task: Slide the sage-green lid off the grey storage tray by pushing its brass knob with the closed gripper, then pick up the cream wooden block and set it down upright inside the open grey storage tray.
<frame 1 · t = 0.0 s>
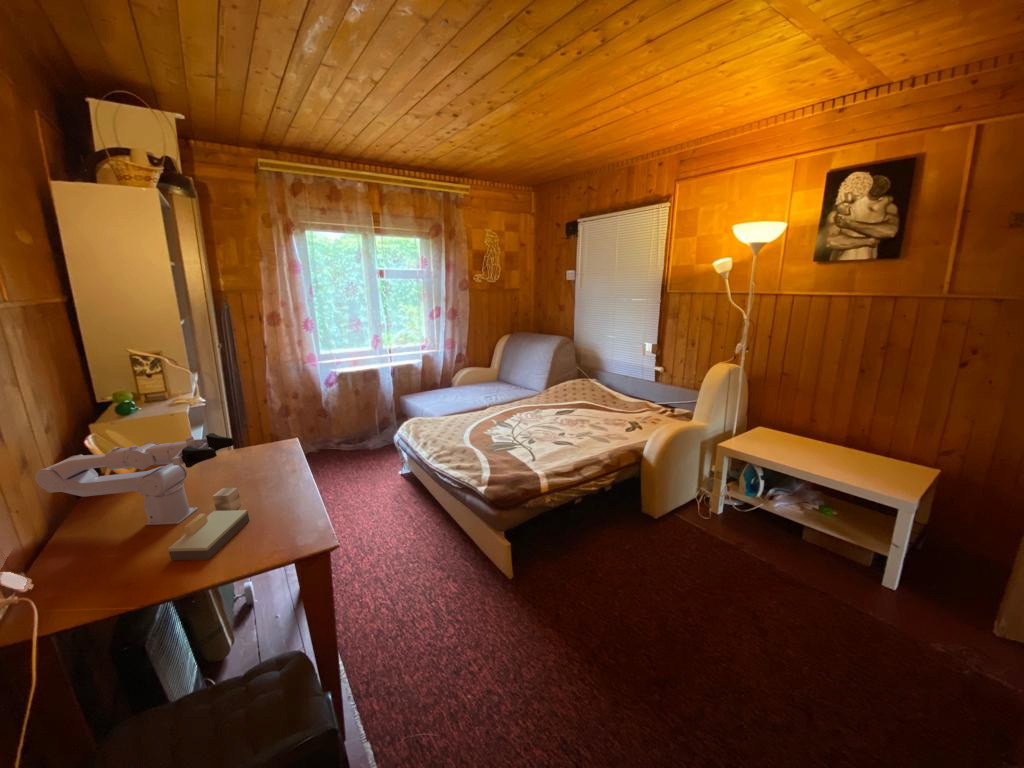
hand: (224, 447, 118), 22 cm above the table, tool horizontal, fingers open, 7 cm apart
lid: (209, 525, 111), point 4 cm above the table, slide at 0.0 cm
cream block: (229, 509, 127), on the table
grey storage tray: (213, 538, 113), on the table
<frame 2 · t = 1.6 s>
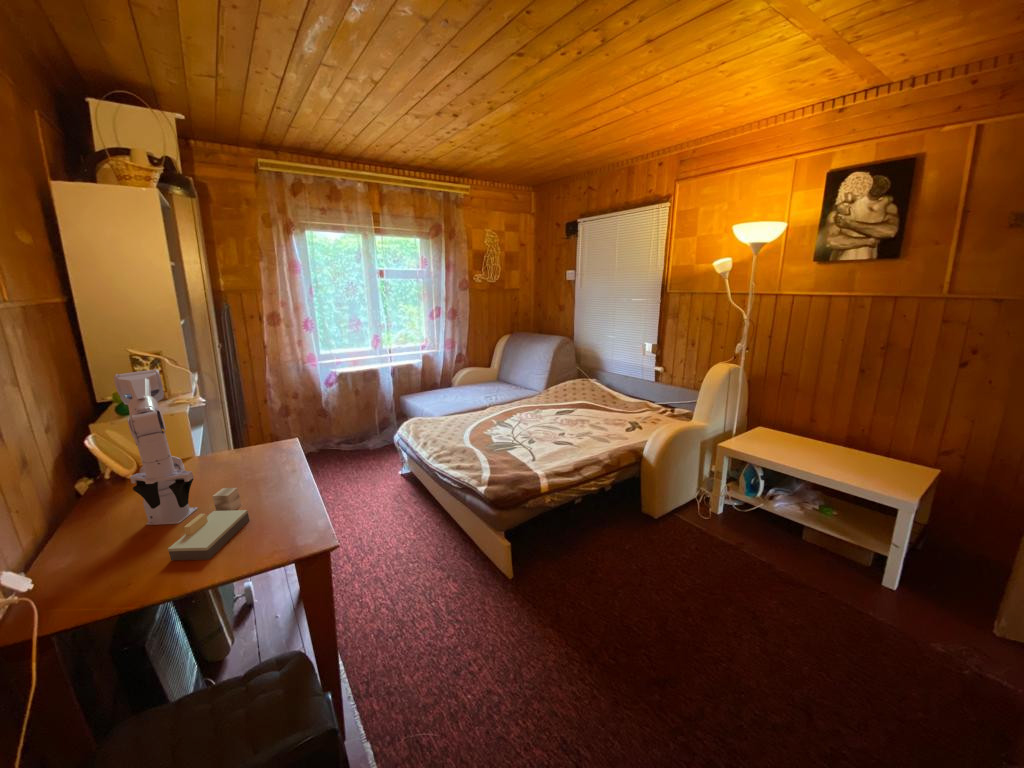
hand: (170, 506, 110), 10 cm above the table, tool pointing down, fingers open, 7 cm apart
nothing on the table moved.
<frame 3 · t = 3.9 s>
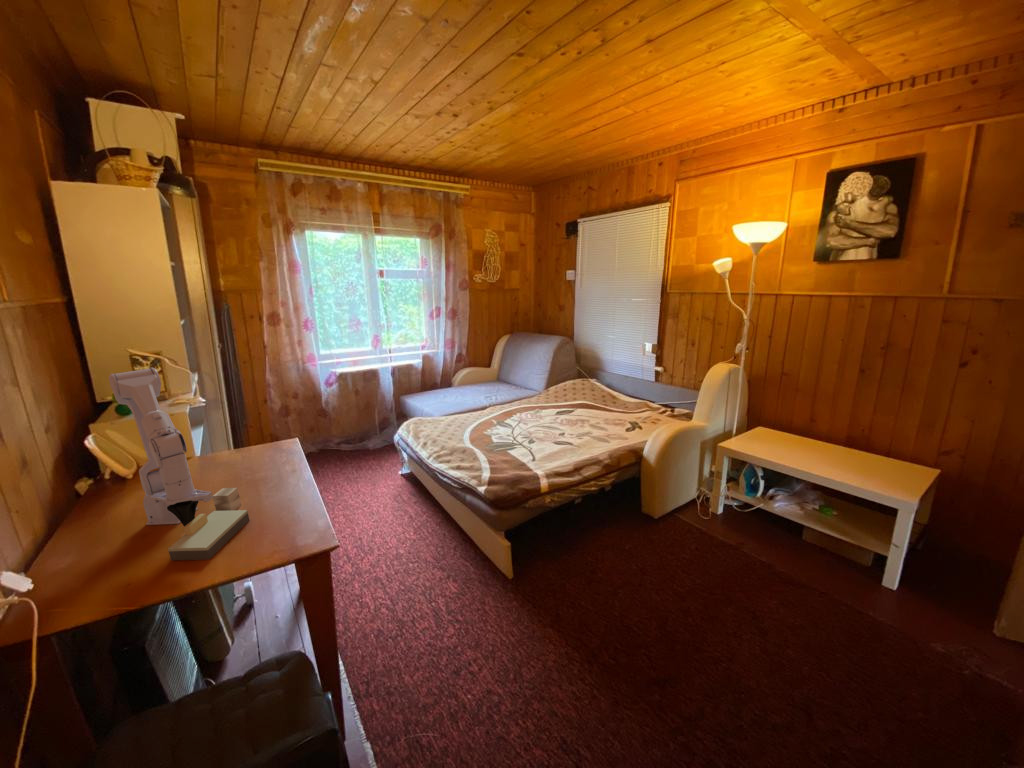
hand: (189, 525, 111), 4 cm above the table, tool pointing down, fingers closed
lid: (209, 525, 111), point 4 cm above the table, slide at 0.0 cm, touching gripper
everything else where it was.
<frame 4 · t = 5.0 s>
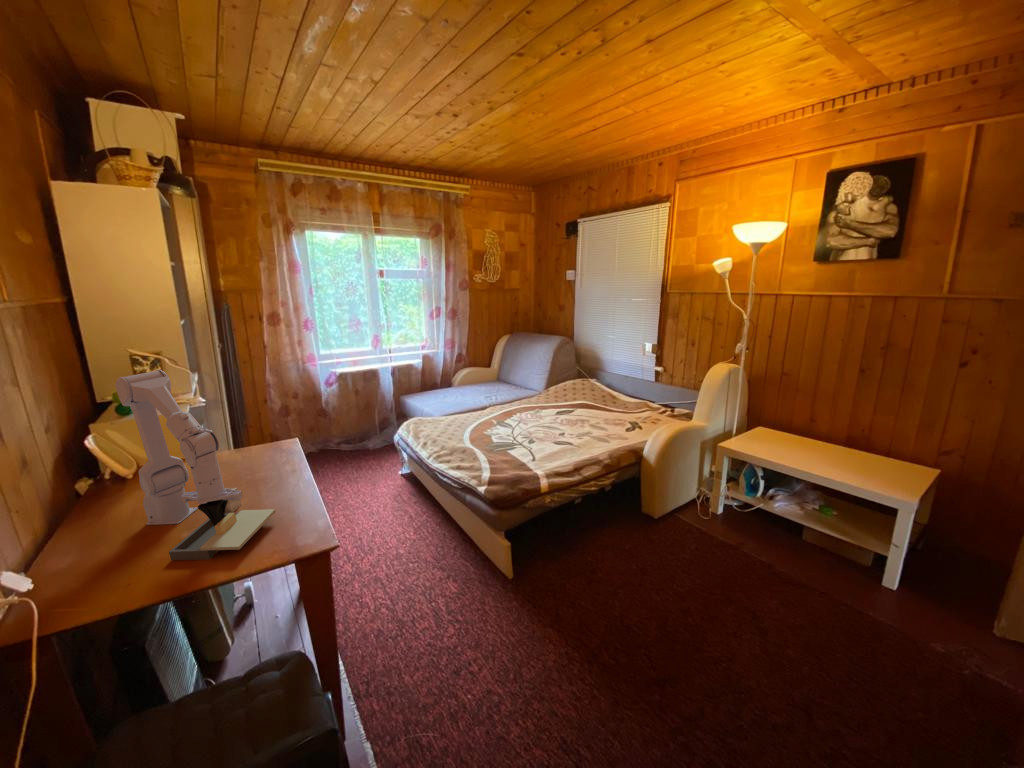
hand: (219, 524, 111), 4 cm above the table, tool pointing down, fingers closed
lid: (239, 524, 111), point 4 cm above the table, slide at 8.0 cm, touching gripper
everything else where it was.
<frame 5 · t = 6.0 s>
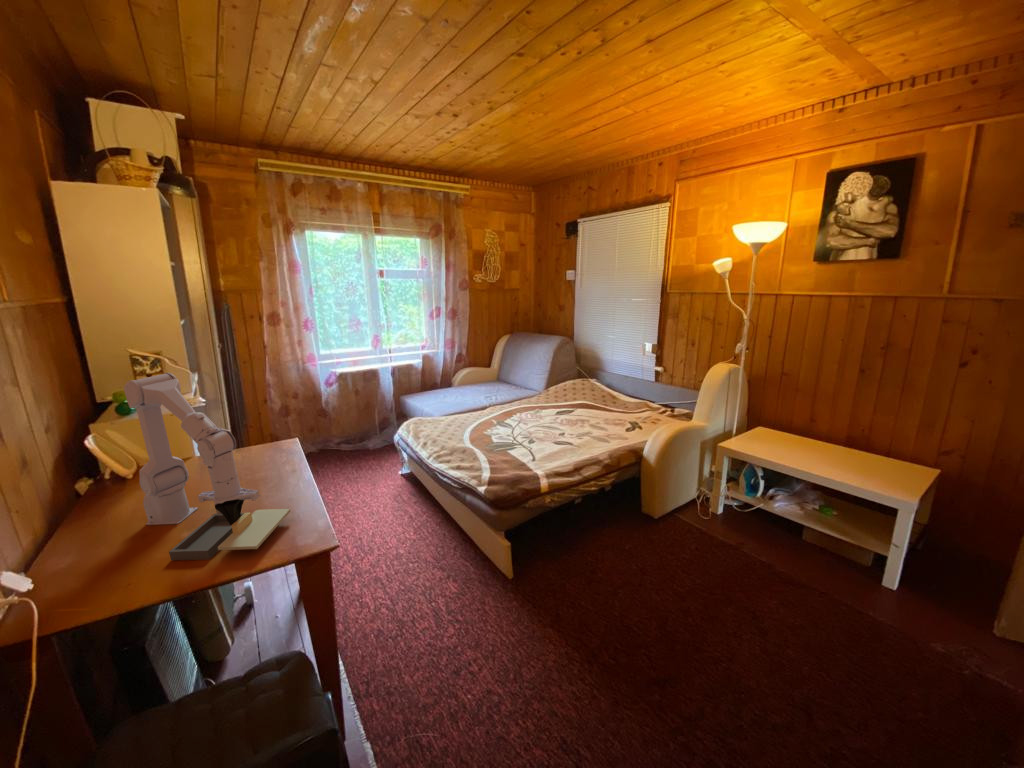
hand: (235, 523, 111), 4 cm above the table, tool pointing down, fingers closed
lid: (255, 523, 111), point 4 cm above the table, slide at 12.3 cm, touching gripper
everything else where it was.
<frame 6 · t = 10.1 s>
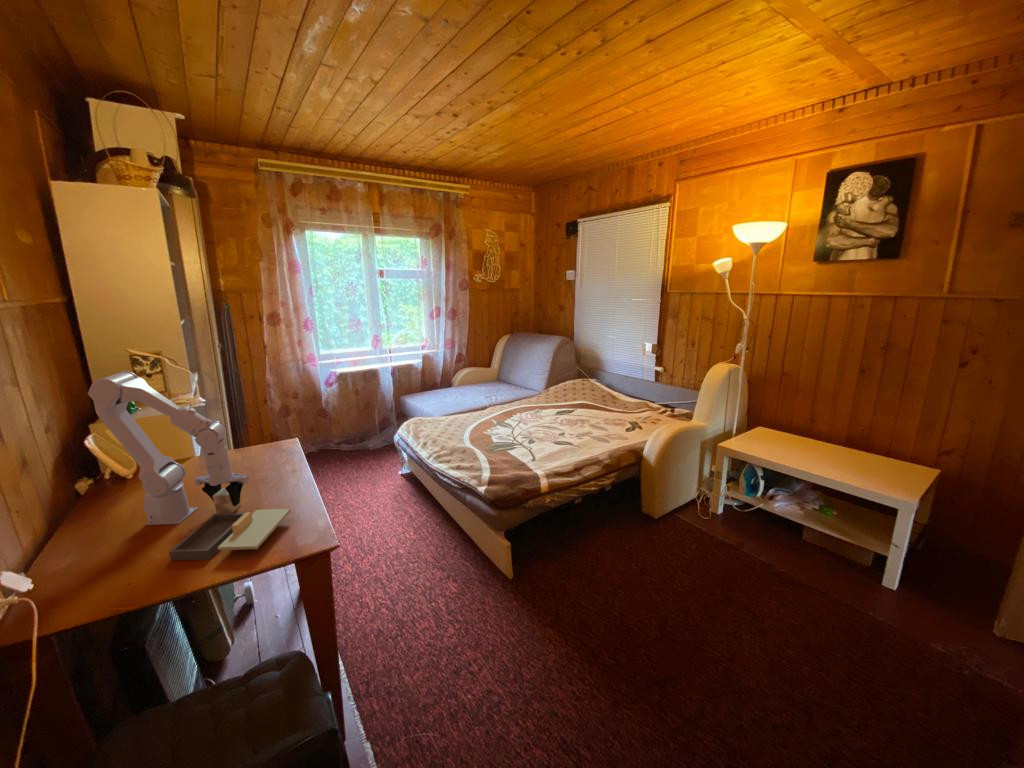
hand: (228, 504, 126), 2 cm above the table, tool pointing down, fingers closed on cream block, 4 cm apart
lid: (255, 523, 111), point 4 cm above the table, slide at 12.3 cm
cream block: (229, 509, 127), on the table, touching gripper
when the fingers open (3 cm above the table, at t = 14.9 s): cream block stays where it is, resting on grey storage tray.
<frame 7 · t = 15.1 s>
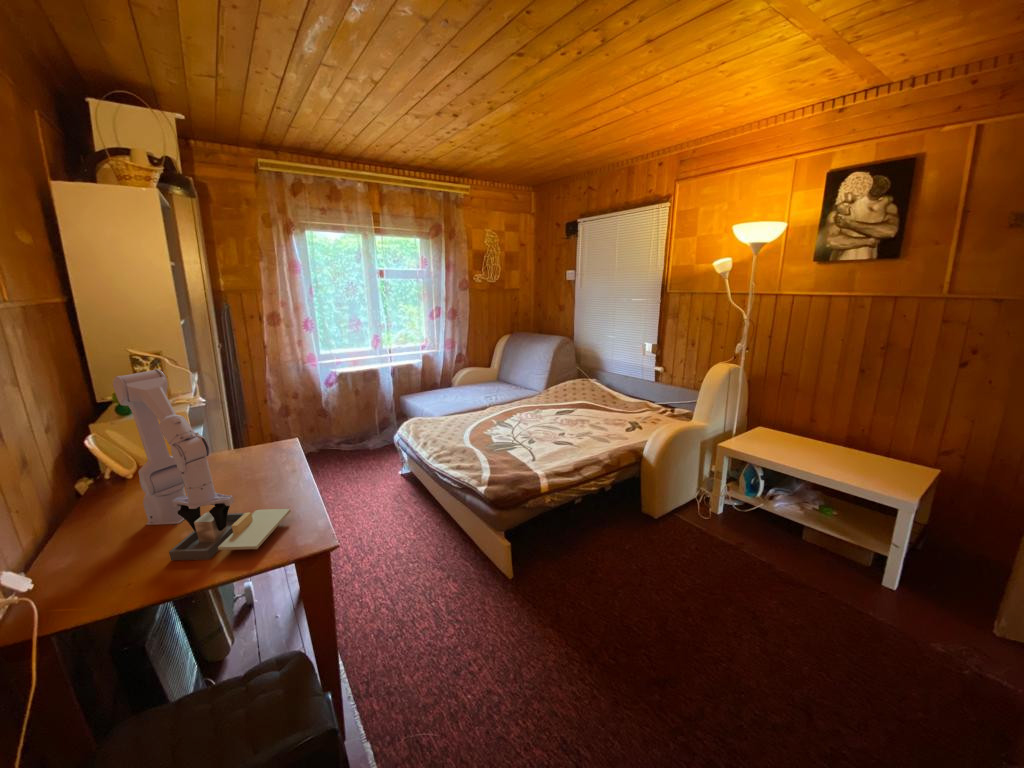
hand: (210, 528, 112), 3 cm above the table, tool pointing down, fingers open, 6 cm apart
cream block: (213, 536, 113), resting on grey storage tray
everything else where it was.
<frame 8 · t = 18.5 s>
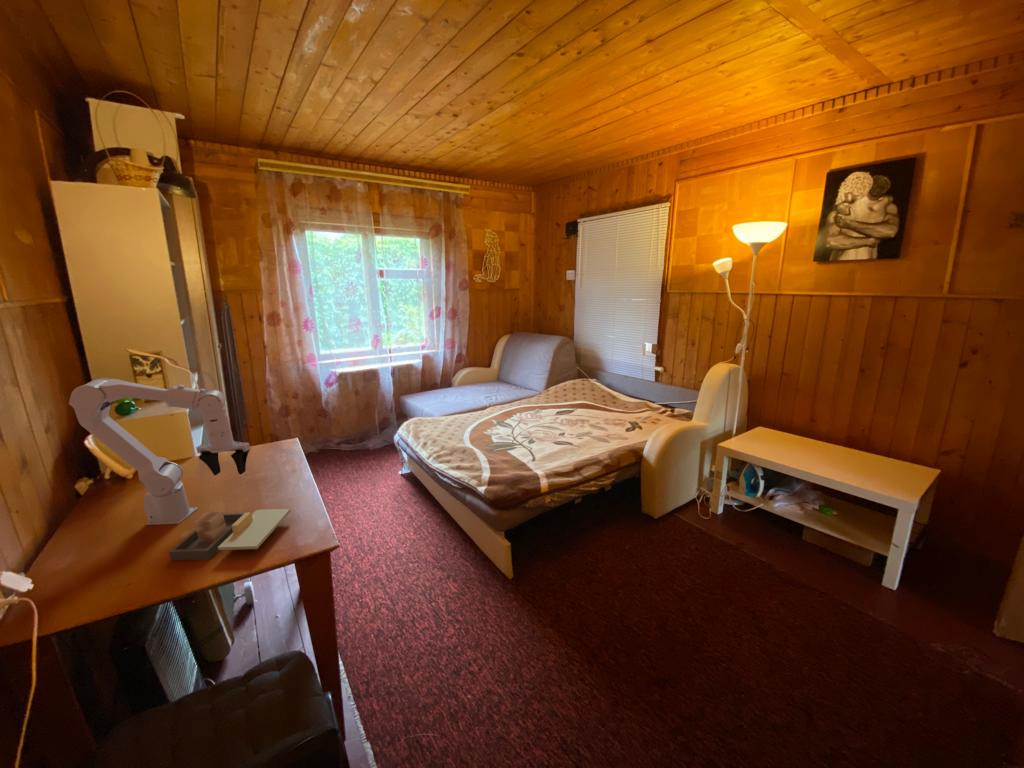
hand: (229, 473, 127), 10 cm above the table, tool pointing down, fingers open, 7 cm apart
nothing on the table moved.
at the end: lid slide at 12.3 cm; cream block 0.3 cm off-centre on the grey storage tray, point 0.5 cm above the grey storage tray's base; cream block tilted 0° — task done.
